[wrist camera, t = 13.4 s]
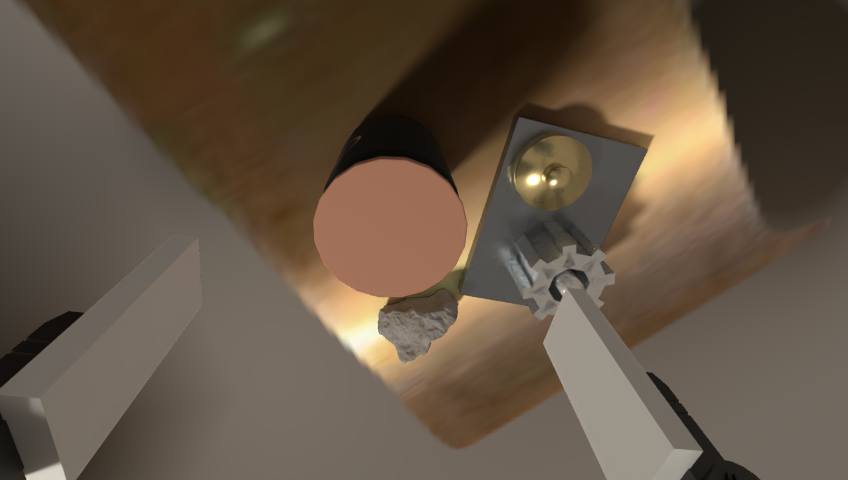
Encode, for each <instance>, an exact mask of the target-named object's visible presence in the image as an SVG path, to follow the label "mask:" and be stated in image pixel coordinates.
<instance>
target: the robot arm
mask: <svg viewBox="0 0 848 480" xmlns="http://www.w3.org/2000/svg"><path fill="white" fill-rule="evenodd" d="M198 244H199V243H198V237H191V236H184V235H176V234H173V235H172V236H171V237H170V238H169V239H167V241H165V242H164V243H163V244H162V245H161V246H160V247H158V248H157V249H156V250H155V251H154V252H153V253H152V254H151V255H149V257H147V258H146V259H145V260H144V261H143V262H142V263H141V264H139V265H138V266H137V267H136V268H135V269H134V270H133V271H132V272H130V273H129V274H128V275H127V276H126V277H125V278H124V279H123V280H121V281H120V282H119V283H118V284H117V285H116V286H115V287H114V288H112V289H111V290H110V291H109V292H108V293H107V294H106V295H105V296H103V297H102V298H101V299H100V300H99V301H98V302H97V303H96V304H94V305H93V306H92V307H91V308H90V309H89V310H88V311H87V312H85V313H81V312H71V311H68V312H66V313H64V314H62V315H60V316H58V317H56V318H54V319H52V320H50V321H48V322H46V323H44V324H43V325H42V326H40V327H39V328H38V329H37V330H35V331H34V332H33V333H32V334H31V335H29V336H28V337H27V338H26V341H22V342H21V343H20V344H18V345H17V346H16V347H15V348H13V349H12V350H11V353H10V354H6V355H5V356H4V357H2V358H1V359H0V480H14V479H15V478H16V477H17V476H18V475H19V473H20V472H21V471H22V470H23V471H24V473H25V476H26V479H27V480H76V479H77V477H78V476H79V475H80V473H81V472H82V470H83V469H84V467H85V466H86V465H87V464H88V462H89V461H90V459H91V458H92V457H93V455H94V454H95V452H96V451H97V450H98V448H99V447H100V446H101V444H102V443H103V441H104V440H105V439H106V437H107V436H108V434H109V433H110V432H111V430H112V429H113V427H114V426H115V425H116V423H117V422H118V421H119V419H120V418H121V417H122V415H123V414H124V412H125V411H126V410H127V408H128V407H129V405H130V404H131V403H132V401H133V400H134V399H135V397H136V396H137V394H138V393H139V392H140V390H141V389H142V387H143V386H144V385H145V383H146V382H147V381H148V379H149V378H150V376H151V375H152V374H153V372H154V371H155V369H156V368H157V367H158V365H159V364H160V363H161V361H162V360H163V358H164V357H165V355H166V354H167V353H168V351H169V350H170V349H171V347H172V346H173V345H174V343H175V342H176V340H177V339H178V338H179V336H180V335H181V333H182V332H183V331H184V329H185V328H186V327H187V325H188V324H189V322H190V321H191V320H192V318H193V317H194V316H195V314H196V313H197V311H198V310H199V309H200V307H201V305H202V290H201V274H200V259H199V245H198ZM543 344H544V346H545V349H546V351H547V353H548V355H549V357H550V359H551V361H552V363H553V366H554V368H555V370H556V372H557V374H558V376H559V378H560V380H561V383H562V385H563V387H564V389H565V391H566V393H567V395H568V397H569V399H570V402H571V404H572V406H573V408H574V410H575V412H576V414H577V417H578V419H579V421H580V423H581V425H582V427H583V429H584V432H585V434H586V436H587V438H588V440H589V442H590V444H591V446H592V449H593V451H594V453H595V455H596V457H597V459H598V461H599V463H600V466H601V468H602V470H603V472H604V474H605V476H606V478H607V480H760V479H759V478H758V477H757V476H756V475H754V474H753V473H751V472H750V471H749V470H747V469H746V468H744V467H743V466H740V465H738V464H736V463H734V462H731V461H726V460H724V459H723V458H722V456H721V455H720V454H719V452H718V451H717V450H716V448H715V447H714V446H713V445H712V443H711V442H710V441H709V439H708V438H707V437H706V436H705V434H704V433H703V431H702V430H701V429H700V428H699V426H698V425H697V424H696V422H695V421H694V420H693V419H692V418H691V416H689V415H688V412H687V411H686V409H685V408H684V407H683V405H682V404H680V403H679V400H678V399H677V398H676V396H675V395H674V394H673V392H672V391H671V390H670V389H669V387H668V386H667V385H666V384H665V383H663V382H662V381H661V380H660V379H659V378H658V377H656V376H655V375H654V374H653V373H648V372H645V371H644V369H643V368H642V367H641V365H640V364H639V363H638V361H637V360H636V358H635V357H634V356H633V354H632V353H631V352H630V350H629V349H628V348H627V346H626V345H625V343H624V342H623V341H622V339H621V338H620V337H619V335H618V334H617V333H616V331H615V330H614V328H613V327H612V326H611V324H610V323H609V322H608V320H607V319H606V318H605V316H604V315H603V313H602V312H601V311H600V309H599V308H598V307H597V305H596V304H595V303H594V301H593V300H592V298H591V297H590V296H589V294H588V293H587V292H586V290H582V289H575V288H568V287H566V289H565V292H564V294H563V297H562V299H561V301H560V304H559V306H558V309H557V311H556V313H555V316H554V318H553V321H552V323H551V325H550V328H549V330H548V333H547V335H546V338H545V340H544V342H543Z"/></svg>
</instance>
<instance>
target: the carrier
mask: <svg viewBox="0 0 848 480" xmlns="http://www.w3.org/2000/svg"><path fill="white" fill-rule="evenodd" d="M647 151H648V149H645V148H643V147H641V146H637V145H633V144H629V143H625V142H621V141H617V140H613V139H609V138H605V137H601V136H597V135H593V134H590V133H586V132H582V131H578V130H574V129H570V128H566V127H562V126H558V125H554V124H550V123H546V122H542V121H538V120H534V119H530V118H526V117H522V116H518V115H515V116H514V119H513V122H512V125H511V128H510V131H509V134H508V137H507V140H506V143H505V147H504V150H503V153H502V156H501V159H500V162H499V165H498V168H497V171H496V174H495V177H494V180H493V183H492V186H491V189H490V192H489V195H488V198H487V201H486V204H485V207H484V210H483V213H482V216H481V220H480V223H479V226H478V229H477V232H476V235H475V238H474V241H473V244H472V247H471V250H470V253H469V256H468V259H467V262H466V265H465V268H464V271H463V274H462V277H461V280H460V283H459V286H458V289H459V293H460V294H461V295H467V296H472V297H478V298H484V299H490V300H496V301H502V302H508V303H514V304H519V305H525V306H528V304H527V302H526V300H525V299H523V297H522V295H521V293H520V291H519V289H518V287H517V285H516V283H515V281H514V279H513V277H512V275H511V273H510V271H509V261H513V260H518V257H519V254H520V252H521V251H520V249H519V248H518V246H517V244H516V242H517V241H518V240H519V239H520V237H521V236H522V235H523V234H524V235H526V236H527V237H529V238H532V237H534V236H536V235H538V234H540V233H541V232H543V223H547V222H553V221H555V222H556V223H557V224H558V225H559V226H560V227H561V228H562V229H563V230H564V231H565V232H569V231H570V230H571V229H572V228H573V227H574V226H577V227H578V228H579V229H581V230H582V231H583V232H584V233H585V234H586V235H587V236H588V237H589V238H590V239H591V240H592V241H593V242H594V243H595V244H596V245H597V246H598V247H599V248H601V246H602V244H603V242H604V240H605V238H606V236H607V234H608V231H609V229H610V227H611V225H612V223H613V221H614V219H615V217H616V215H617V213H618V211H619V209H620V207H621V205H622V202H623V200H624V198H625V196H626V194H627V192H628V190H629V188H630V186H631V184H632V182H633V180H634V178H635V175H636V173H637V171H638V169H639V167H640V165H641V163H642V161H643V159H644V157H645V155H646V153H647ZM552 281H553V283H554V284H555V286H556V287H557V289H558V290H559V292H560V293H561V295H562V296H563V294H564V292H565V289H566V287H568V288H575V289H582V290H585V288H584V286H583V284H582V283H581V282H580V281H579V279H578V278H577V277H576V275H575V274H574V273H573V272H572V270H571V269H570V268H569V269H567V270H565V271H563V272H561V273H559V274H557V275H556V276H554V278H553V280H552Z"/></svg>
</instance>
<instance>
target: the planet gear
mask: <svg viewBox="0 0 848 480" xmlns="http://www.w3.org/2000/svg"><path fill="white" fill-rule="evenodd" d="M516 244H517V246H518V248H519V249H520V251H521V252H520V254H519V257H518V260H513V261H509V271H510V273H511V275H512V277H513V279H514V281H515V283H516V285H517V287H518V289H519V291H520V293H521V295H522V297H523V299H525V300H526V302H527V304H528V306H529V308H530V310H531V312H532V314H533V315H534V316H536V317H537V318H539V319H540V320H543V319H544V318H545V317H546V316H547V315H548V314H551V315H555V313H556V311H557V309H558V306H559V304H560V301H561V299H562V297H563V296H562V295H561V293H560V292H559V290H558V289H557V287H556V286H555V284H554V283H553V281H552V280H553V278H554V276H556V275H557V274H559V273H561V272H563V271H565V270H567V269H569V268H570V269H571V270H572V272H573V273H574V274H575V275H576V277H577V278H578V279H579V281H580V282H581V283H582V284H583V286H584V288H585V290H586V292H587V293H588V294H589V296H590V297H591V298H592V300H593V301H594V303H595V304H596V305H597V307H598V308H600V307H601V306H602V305H603V304H604V302H603V300H602V299H601V298H600V297H599V296H600V294H601V292H602V290H603V288H604V286H606V285H612V284H615V272H614V271H613V270H612V269H611V268H610V267H609V266H608V265H607V264H606V263H605V262H604V261H603V260H604V259H605V258H606V257H607V255H606V254H605V253H604V252H603V251H602V250H601V249H600V248H599V247H598V246H597V245H596V244H595V243H594V242H593V241H592V240H591V239H590V238H589V237H588V236H587V235H586V234H585V233H584V232H583V231H582V230H581V229H579V228H578V227H577V226H574V227H573V228H572V229H571V230H570V231H569V232H565V231H564V230H563V229H562V228H561V227H560V226H559V225H558V224H557V223H556V222H555V221H553V222H547V223H543V232H541V233H540V234H538V235H536V236H534V237H532V238H529V237H527V236H526V235H524V234H523V235H522V236H521V237H520V239H519V240H518V241H517V242H516Z"/></svg>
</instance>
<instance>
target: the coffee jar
mask: <svg viewBox="0 0 848 480" xmlns="http://www.w3.org/2000/svg"><path fill="white" fill-rule="evenodd" d="M313 224H314V239H315V244H316V247H317V249H318V251H319V253H320V256H321V258H322V260H323V263H324V264H325V265H326V266H327V267H328V269H329V270H330V271H331V272H332V273H333V274H334V275H335V276H336V277H337V279H338V280H340V281H342V282H343V283H345V284H346V285H348V286H350V287H351V288H353V289H355V290H356V291H359V292H362V293H366V294H369V295H373V296H377V297H404V296H408V295H412V294H416V293H419V292H423V291H424V290H426V289H428V288H430V287H431V286H433V285H435V284H437V283H438V282H440V281H441V280H442V279H443V278H444V277H445V276H446V275H447V274H448V273H449V272H450V271H451V270H452V269H453V268H454V267H455V266H456V264H457V261H458V259H459V257H460V255H461V253H462V251H463V249H464V247H465V242H466V233H467V220H466V216H465V212H464V207H463V203H462V201H461V200H460V198H459V195H458V191H457V188H456V186H455V184H454V181H453V179H452V177H451V174H450V172H449V170H448V167H447V165H446V163H445V160H444V158H443V156H442V153H441V151H440V149H439V146H438V145H437V143H436V141H435V140H434V138H433V137H432V135H431V134H430V132H429V131H427V130H426V129H425V128H424V127H423V126H421V125H420V124H419V123H418V122H416V121H413V120H411V119H408V118H405V117H403V116H390V115H384V116H381V117H377V118H374V119H370V120H368V121H367V122H365V123H364V124H362V125H361V126H359V127H358V128H357V129H355V131H354V132H353V134H352V135H351V136H350V138H349V139H348V140H347V142H346V144H345V146H344V148H343V150H342V152H341V154H340V156H339V158H338V160H337V163H336V165H335V167H334V169H333V171H332V173H331V175H330V177H329V179H328V181H327V184H326V186H325V189H324V192H323V195H322V196H321V197H320V199H319V202H318V206H317V209H316V213H315V216H314V219H313Z"/></svg>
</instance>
